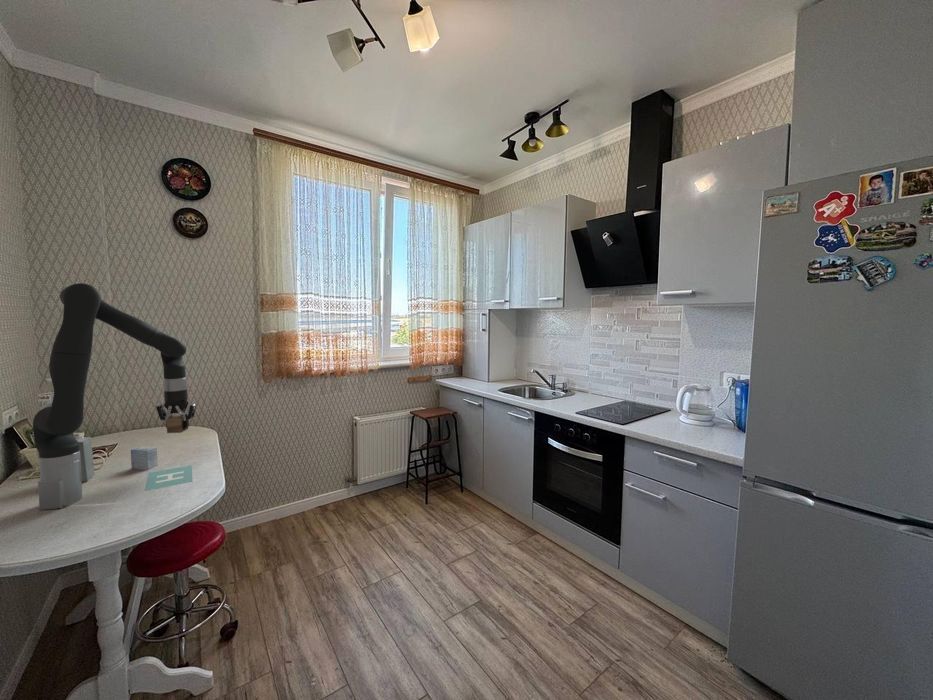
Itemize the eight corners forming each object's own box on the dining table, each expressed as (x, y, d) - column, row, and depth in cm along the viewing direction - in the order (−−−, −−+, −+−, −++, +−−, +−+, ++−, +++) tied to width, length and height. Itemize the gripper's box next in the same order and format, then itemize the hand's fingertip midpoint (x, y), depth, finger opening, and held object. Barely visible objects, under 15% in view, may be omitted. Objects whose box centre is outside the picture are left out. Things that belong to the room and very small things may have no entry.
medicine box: (158, 466, 155) (157, 447, 154) (148, 471, 151) (147, 450, 150) (141, 465, 156) (140, 446, 155) (131, 469, 151) (130, 449, 151)
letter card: (192, 482, 141) (192, 481, 141) (144, 492, 132) (144, 491, 132) (191, 465, 157) (191, 465, 157) (149, 473, 148) (149, 472, 148)
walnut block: (180, 432, 148) (180, 418, 147) (167, 433, 147) (166, 418, 146) (188, 428, 153) (187, 415, 152) (174, 429, 152) (174, 415, 151)
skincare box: (87, 482, 139) (85, 441, 138) (61, 485, 136) (58, 444, 135) (95, 473, 147) (93, 435, 146) (70, 477, 143) (68, 438, 142)
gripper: (149, 390, 143) (152, 432, 145) (189, 390, 146) (191, 431, 147) (162, 387, 151) (164, 427, 152) (200, 386, 153) (202, 426, 155)
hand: (177, 429), depth 150 cm, fingers closed on walnut block, 5 cm apart
